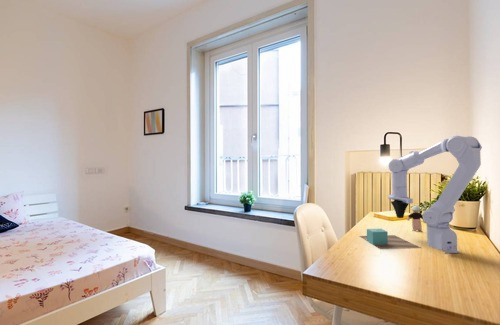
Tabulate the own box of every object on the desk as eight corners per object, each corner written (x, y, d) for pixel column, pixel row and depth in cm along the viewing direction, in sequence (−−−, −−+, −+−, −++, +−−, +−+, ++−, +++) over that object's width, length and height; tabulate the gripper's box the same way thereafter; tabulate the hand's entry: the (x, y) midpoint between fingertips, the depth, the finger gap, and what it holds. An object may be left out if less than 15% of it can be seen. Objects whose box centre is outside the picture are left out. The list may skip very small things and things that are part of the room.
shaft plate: (421, 251, 99) (421, 239, 99) (380, 252, 99) (379, 241, 99) (394, 237, 117) (394, 228, 117) (359, 238, 117) (358, 229, 117)
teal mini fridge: (387, 244, 104) (387, 231, 105) (372, 244, 104) (372, 231, 104) (381, 240, 109) (380, 228, 110) (367, 240, 109) (366, 228, 109)
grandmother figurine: (422, 230, 128) (421, 204, 128) (426, 232, 124) (426, 206, 124) (405, 230, 129) (405, 204, 129) (409, 232, 125) (409, 206, 125)
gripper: (381, 185, 122) (382, 214, 122) (400, 188, 108) (401, 221, 108) (396, 185, 123) (397, 214, 122) (417, 188, 108) (418, 221, 108)
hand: (400, 217), depth 115 cm, fingers closed
